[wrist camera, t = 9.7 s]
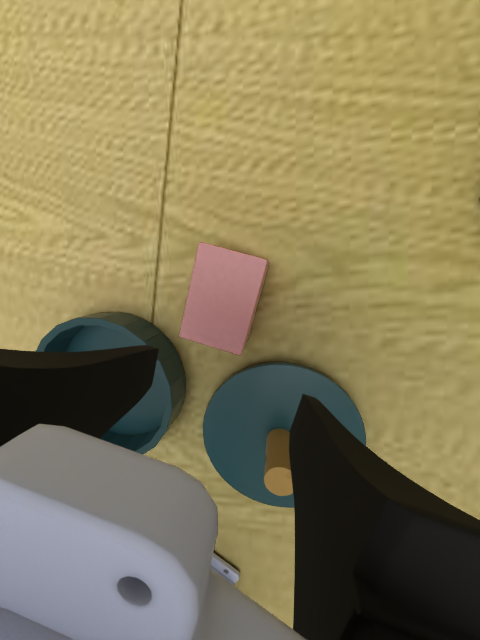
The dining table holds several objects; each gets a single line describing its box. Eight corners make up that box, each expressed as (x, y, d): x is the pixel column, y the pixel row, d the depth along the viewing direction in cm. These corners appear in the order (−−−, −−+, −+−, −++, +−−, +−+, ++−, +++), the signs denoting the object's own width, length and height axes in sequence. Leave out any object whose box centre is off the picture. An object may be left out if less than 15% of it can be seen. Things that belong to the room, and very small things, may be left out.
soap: (269, 262, 18) (267, 259, 15) (247, 342, 19) (240, 356, 16) (213, 247, 18) (198, 241, 15) (195, 326, 20) (178, 336, 17)
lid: (397, 424, 19) (440, 478, 14) (294, 521, 22) (299, 593, 17) (263, 327, 19) (258, 346, 14) (180, 437, 22) (152, 484, 17)
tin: (212, 367, 20) (201, 383, 17) (144, 460, 23) (125, 487, 20) (96, 283, 20) (66, 285, 18) (44, 386, 23) (11, 402, 20)
